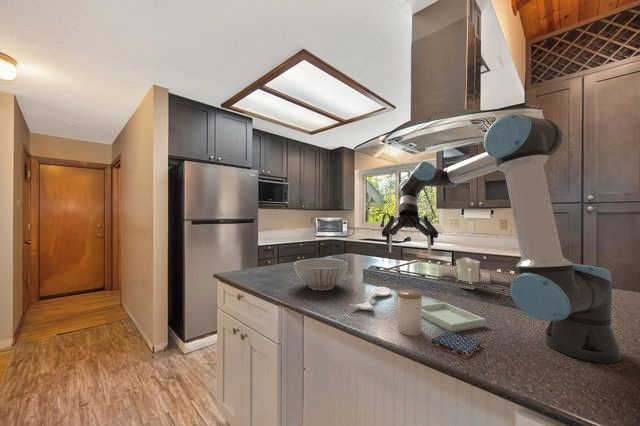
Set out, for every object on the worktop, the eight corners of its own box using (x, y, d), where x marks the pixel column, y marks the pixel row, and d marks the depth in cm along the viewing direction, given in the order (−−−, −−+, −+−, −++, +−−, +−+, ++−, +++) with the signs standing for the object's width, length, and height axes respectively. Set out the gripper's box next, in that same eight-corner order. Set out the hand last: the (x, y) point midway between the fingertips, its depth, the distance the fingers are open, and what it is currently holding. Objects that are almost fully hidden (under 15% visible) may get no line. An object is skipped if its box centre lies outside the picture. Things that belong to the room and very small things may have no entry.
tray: (485, 326, 92) (485, 318, 92) (451, 332, 87) (451, 324, 87) (443, 308, 108) (443, 301, 108) (413, 313, 104) (413, 306, 104)
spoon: (348, 312, 105) (348, 303, 105) (374, 290, 133) (374, 283, 133) (371, 317, 101) (371, 307, 101) (393, 293, 129) (393, 286, 129)
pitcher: (457, 293, 128) (457, 263, 128) (453, 283, 145) (453, 256, 145) (484, 295, 125) (484, 264, 125) (477, 285, 142) (477, 257, 141)
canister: (427, 333, 87) (427, 294, 86) (407, 337, 84) (407, 297, 84) (411, 324, 93) (411, 288, 93) (392, 327, 91) (392, 290, 91)
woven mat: (428, 345, 80) (428, 338, 80) (447, 335, 86) (447, 328, 86) (465, 361, 72) (465, 353, 72) (483, 348, 78) (483, 341, 78)
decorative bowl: (330, 299, 121) (330, 271, 121) (282, 289, 135) (282, 264, 135) (357, 285, 143) (357, 261, 143) (314, 278, 158) (313, 256, 158)
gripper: (440, 215, 115) (446, 258, 100) (377, 215, 121) (375, 255, 107) (442, 202, 109) (448, 245, 95) (376, 202, 116) (374, 243, 102)
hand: (409, 251), depth 101 cm, fingers open, 13 cm apart
